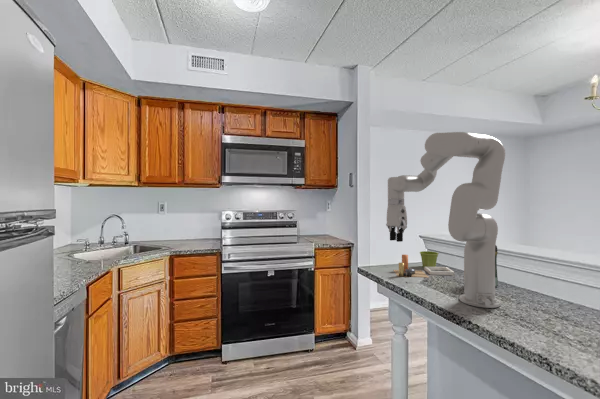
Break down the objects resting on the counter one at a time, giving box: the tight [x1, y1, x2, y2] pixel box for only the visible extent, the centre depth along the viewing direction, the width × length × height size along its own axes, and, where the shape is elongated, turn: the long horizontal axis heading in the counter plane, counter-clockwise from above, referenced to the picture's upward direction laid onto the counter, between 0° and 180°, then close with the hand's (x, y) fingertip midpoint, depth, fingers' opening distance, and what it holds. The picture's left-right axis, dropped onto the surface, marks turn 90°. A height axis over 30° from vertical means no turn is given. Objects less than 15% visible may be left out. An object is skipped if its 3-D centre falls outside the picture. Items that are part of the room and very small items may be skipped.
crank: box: [398, 262, 416, 276], centre depth 144 cm, size 11×4×6 cm, turn 131°
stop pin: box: [401, 254, 409, 271], centre depth 152 cm, size 3×3×8 cm
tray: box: [423, 266, 456, 278], centre depth 149 cm, size 11×11×2 cm
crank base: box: [393, 269, 430, 279], centre depth 147 cm, size 14×14×3 cm
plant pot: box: [419, 250, 439, 268], centre depth 161 cm, size 9×9×9 cm
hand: (396, 240), depth 145 cm, fingers open, 4 cm apart
